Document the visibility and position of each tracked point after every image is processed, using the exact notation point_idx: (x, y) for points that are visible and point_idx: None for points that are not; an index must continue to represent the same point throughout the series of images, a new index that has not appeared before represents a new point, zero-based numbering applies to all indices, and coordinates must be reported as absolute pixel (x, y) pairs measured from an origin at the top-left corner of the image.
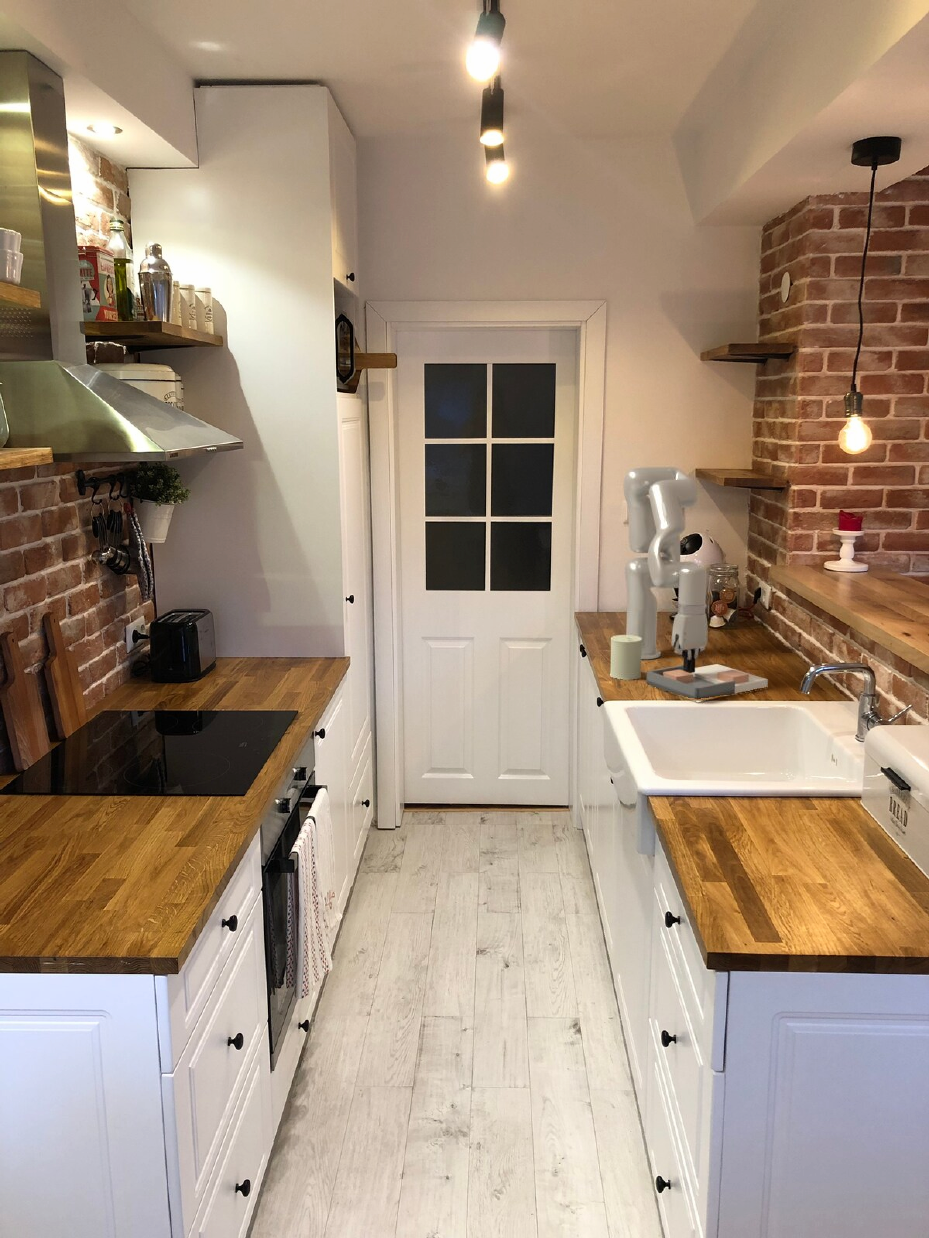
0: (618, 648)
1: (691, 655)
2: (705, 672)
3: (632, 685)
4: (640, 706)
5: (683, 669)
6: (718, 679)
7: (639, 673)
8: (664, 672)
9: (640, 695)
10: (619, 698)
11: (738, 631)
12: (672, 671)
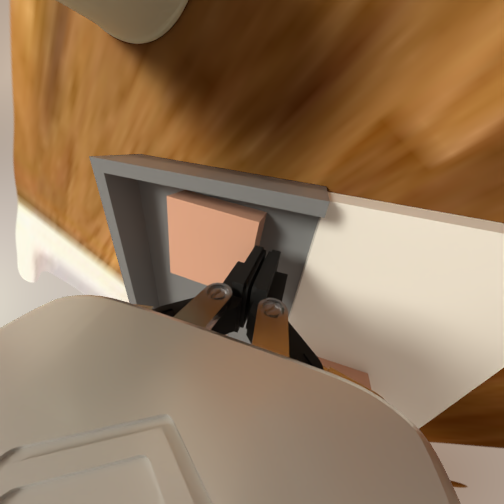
0: None
1: (251, 332)
2: (353, 291)
3: (95, 123)
4: (64, 266)
5: (254, 247)
6: None
7: (146, 18)
8: (167, 205)
9: (85, 220)
10: (34, 200)
11: None
12: (205, 219)
